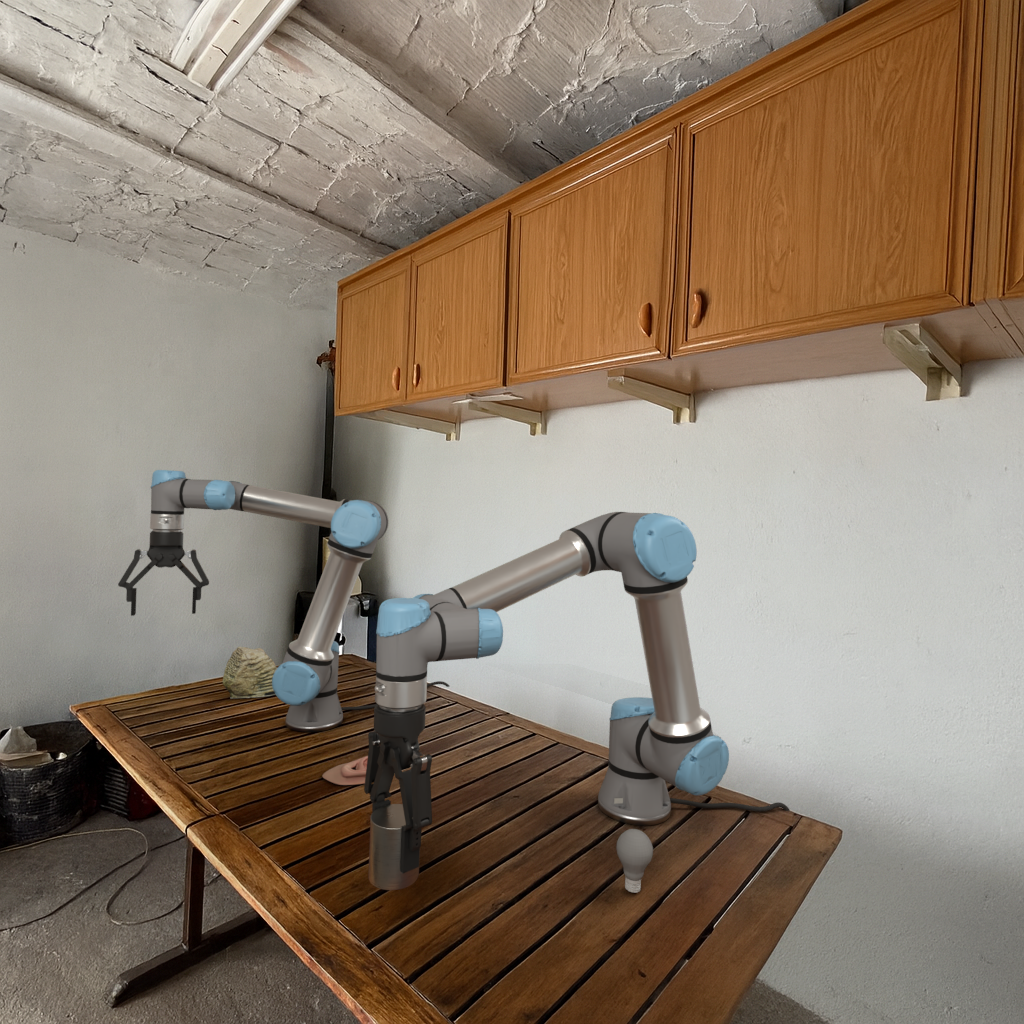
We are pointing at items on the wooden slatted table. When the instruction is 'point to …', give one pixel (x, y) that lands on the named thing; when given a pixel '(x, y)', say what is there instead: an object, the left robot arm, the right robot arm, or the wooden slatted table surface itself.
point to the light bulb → (634, 857)
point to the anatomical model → (348, 773)
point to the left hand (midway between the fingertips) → (164, 613)
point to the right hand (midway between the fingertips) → (394, 856)
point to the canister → (388, 849)
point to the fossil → (249, 673)
